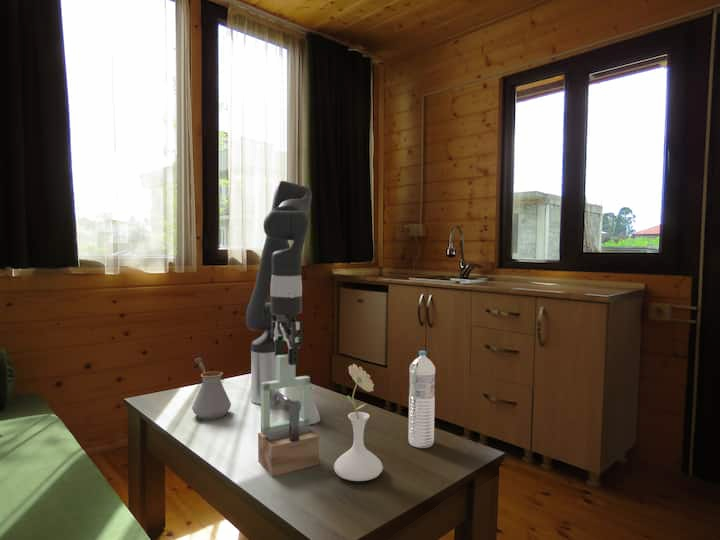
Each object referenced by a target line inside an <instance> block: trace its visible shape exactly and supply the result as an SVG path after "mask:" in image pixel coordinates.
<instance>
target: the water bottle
mask: <svg viewBox="0 0 720 540" xmlns="http://www.w3.org/2000/svg"><path fill="white" fill-rule="evenodd" d="M418 353H419V354H418V355H419V356H418V357H416V358H415V359H414V360H413V361H412V362H411V364H410V365H409V368H408V369H409V395H408V432H407V433H408V438H407V439H408V443H409V445H411V447H414V448H418V449H428V448H431V447H432V446H433V445H434V443H435V441H434V440H435V409H436V408H435V403H436V401H435V400H436V399H435V398H436V397H435V389H436V388H435V378H436V367H435V364H434V363H433V362H432V361H431V359H429V358H428V357H427V351H426V350H419V351H418Z"/></svg>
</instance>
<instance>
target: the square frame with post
mask: <svg viewBox="0 0 720 540" xmlns="http://www.w3.org/2000/svg"><path fill="white" fill-rule="evenodd" d="M296 365H297V364H296ZM296 365H289V364H288V353H286V354H285V353H284V355H276V380H274V381H267V382H261V404H260V433H261V432H262V433H263V434H264V435H265V436H266V437H267V438H268V439H269V440H273V439H278V438H282V437H287V436H289V419H287V420H283V421H281V420H280V421H276V422H272V423H270V422H271V417H270V416H271V415H270V413H271V409H270V390H272V389H279V390H280V389H284V388H290V387H297V386H300V410H301V418H299V434H301V433H305V432H309V429H310V428H309V426H310V425H311V424H310V387H311V377H310V376H309V375H300V376H296V369H297V368H296V367H297V366H296Z"/></svg>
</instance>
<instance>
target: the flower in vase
mask: <svg viewBox="0 0 720 540" xmlns="http://www.w3.org/2000/svg"><path fill="white" fill-rule="evenodd" d="M348 373H349V376H351V378H352V380H353V381H354V382H355V386H354V389H353V391H352V396H350V395H347V396H346V399H345V400H347V402H348V401H349V402H350V403H351V404H352V405H353V407H354V412H350V413H349V414H348V415H347V418H348V419H349V420H350V422H351V425H352V430H353V444H352V446H351V448H350V449H348V450H347V451H346V452H344V453H343V454H340V456H339V457H338V458H337V459H336V460H335V462H334V464H333V471H334V472H335V473H336V475H337V476H339V477H340V478H341V479H344V480H347V481H351V482H352V481H353V482H365V481H370V480H374V479H375V478H377V477H379V475H381V473H382V472H383V469H384V466H383V463H382V461H381V460H380V459H379V458H378V457H377V455H375V454H374V453H372V451H370V450H368V449H367V448H366V447H365V444H364V434H365V433H364V432H365V427H366V423H367V421H368V420H369V419H370V414H369V413H368V412H363V411H358V410H360V409H362V408H363V407H365V406H366V405H368V403H367V402H365V403H364V404H361V405H359V406H358V407H356V403H355V399H354V397H355V393H356V389H357V386H358V387H359V388H361V389H362V390H363V391H366V392H374V387H375V384H374V383H373V380H372V379H371V375H369V373H367V372H366V370H363V367H362V366H359V367H358V366H357V364H355V363H353V364H352V365H349V366H348Z"/></svg>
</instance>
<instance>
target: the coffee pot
mask: <svg viewBox="0 0 720 540" xmlns="http://www.w3.org/2000/svg"><path fill="white" fill-rule="evenodd" d="M194 361H195V363H197V364H199V368H200V371H201V372H202V373H201V374H200V377H201V379H202V382H201V383H202V384H201V385H200V388H199V390H198V393H197V395H196V398H195V400H194V402H193V404H192V407H191V410H192V411H193V414H195V416H197V417H198V418H199V419H201V420H207V421H208V420H217V419H220V418H222V417H224V416H225V414H227V413H228V411H230V409H231V405H232V403H231V401H230V399H229V397H228V394H227V391H226V390H225V387H224V385H223V384H222V381H221V379H222V376H224V375H223V374H224V372H221V371H206V368H205V365H204V364H203V362H202V361H203V359H202V358H201V357H197V358H195V360H194Z"/></svg>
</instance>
